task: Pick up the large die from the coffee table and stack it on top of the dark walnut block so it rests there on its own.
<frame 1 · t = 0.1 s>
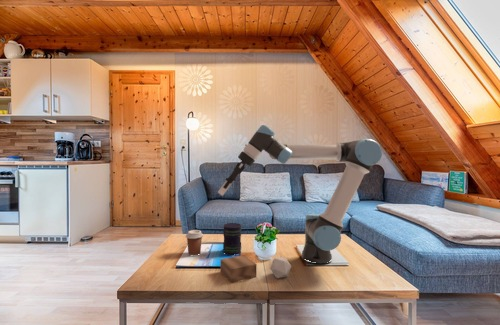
hand: (221, 192, 124), 36 cm above the table, tool tilted 35°, fingers open, 13 cm apart
coffee cup: (194, 254, 143), on the table
walnut block: (238, 275, 119), on the table
die: (280, 276, 118), on the table
storage jar: (232, 252, 146), on the table
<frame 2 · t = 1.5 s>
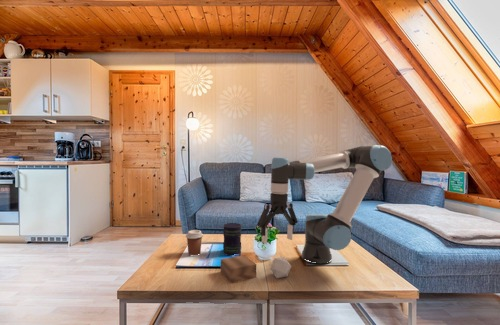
hand: (277, 241, 117), 15 cm above the table, tool pointing down, fingers open, 13 cm apart
nothing on the table moved.
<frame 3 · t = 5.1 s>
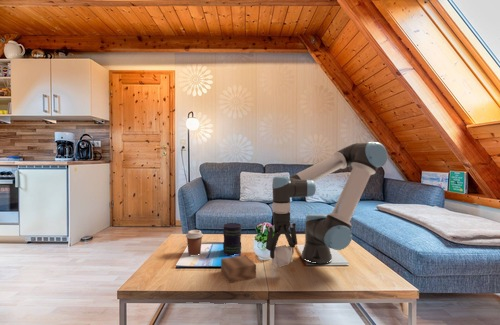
hand: (282, 263, 118), 6 cm above the table, tool pointing down, fingers closed on die, 8 cm apart
die: (282, 264, 117), point 5 cm above the table, touching gripper
everything else where it was.
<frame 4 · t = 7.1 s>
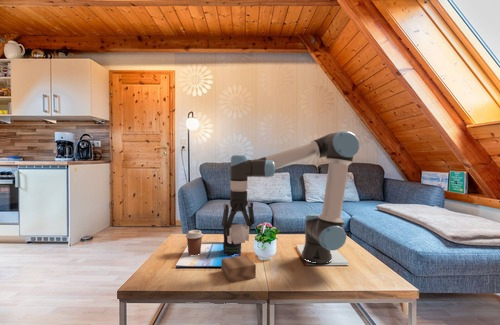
hand: (238, 241, 119), 15 cm above the table, tool pointing down, fingers closed on die, 8 cm apart
die: (238, 242, 118), point 14 cm above the table, touching gripper
everything else where it was.
when the fingers open (7 cm above the table, at t = 9.3 s): die stays where it is, resting on walnut block.
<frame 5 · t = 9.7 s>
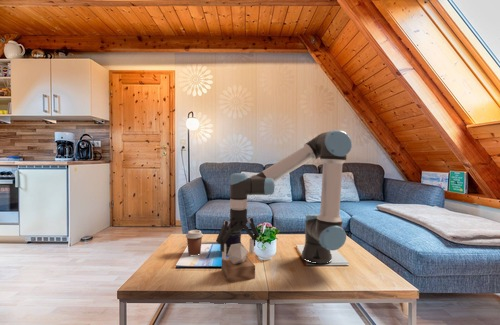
hand: (238, 256, 119), 8 cm above the table, tool pointing down, fingers open, 13 cm apart
walnut block: (237, 275, 119), on the table, touching die
die: (237, 262, 119), point 5 cm above the table, touching walnut block
everything else where it was.
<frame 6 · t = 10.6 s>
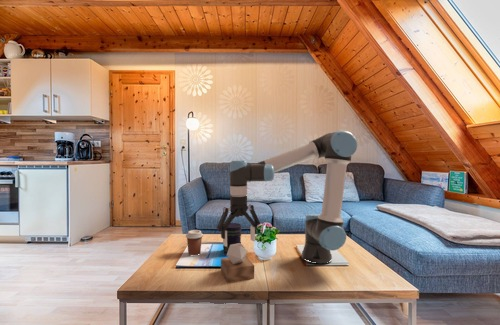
hand: (239, 243, 119), 14 cm above the table, tool pointing down, fingers open, 13 cm apart
nothing on the table moved.
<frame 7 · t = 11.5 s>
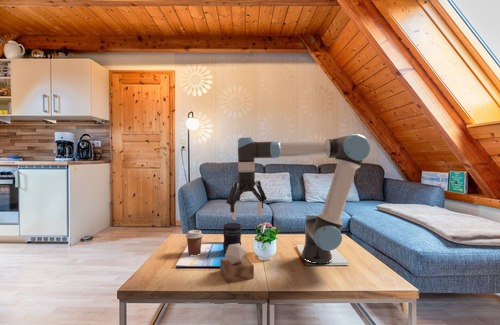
hand: (247, 217, 123), 24 cm above the table, tool pointing down, fingers open, 13 cm apart
nothing on the table moved.
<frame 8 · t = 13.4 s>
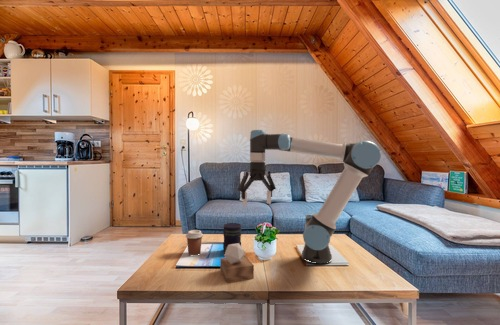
hand: (257, 204, 132), 29 cm above the table, tool pointing down, fingers open, 13 cm apart
at the end: die inside the target area on the walnut block (0.9 cm from its centre), point 5.8 cm above the walnut block's base; the gripper is holding nothing; die touching walnut block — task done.
